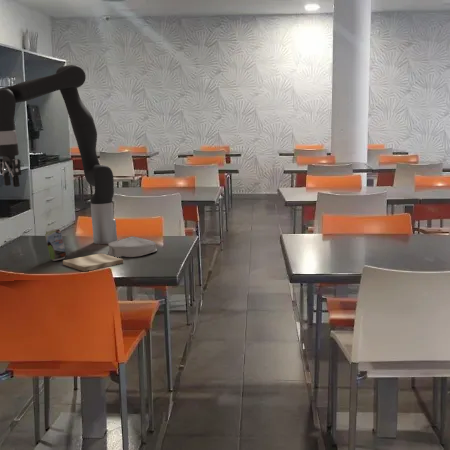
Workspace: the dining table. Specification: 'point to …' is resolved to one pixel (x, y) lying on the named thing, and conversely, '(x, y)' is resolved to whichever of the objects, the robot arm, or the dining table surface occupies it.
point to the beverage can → (55, 244)
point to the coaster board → (92, 262)
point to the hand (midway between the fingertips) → (12, 186)
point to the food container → (131, 247)
